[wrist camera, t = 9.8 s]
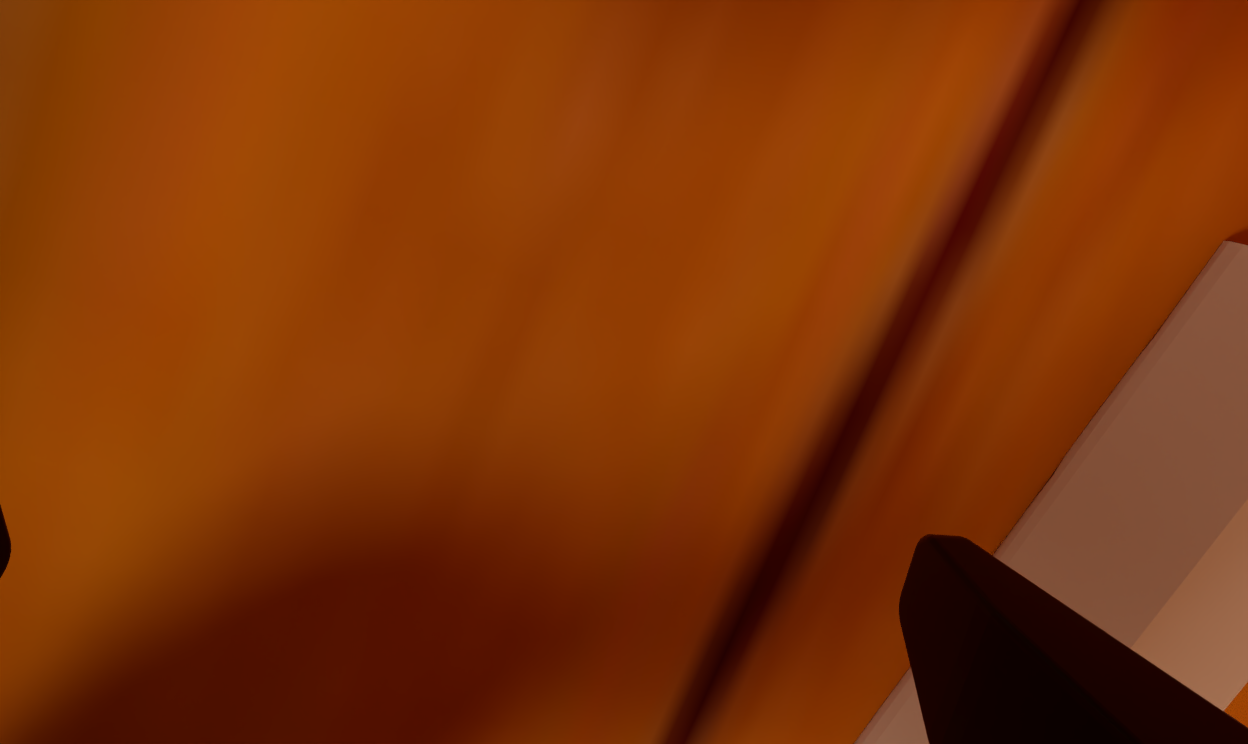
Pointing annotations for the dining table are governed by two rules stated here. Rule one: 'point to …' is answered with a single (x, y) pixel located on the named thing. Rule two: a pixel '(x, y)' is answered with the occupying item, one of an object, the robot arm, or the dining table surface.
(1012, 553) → the decorative molding
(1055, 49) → the dining table surface
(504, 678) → the dining table surface
